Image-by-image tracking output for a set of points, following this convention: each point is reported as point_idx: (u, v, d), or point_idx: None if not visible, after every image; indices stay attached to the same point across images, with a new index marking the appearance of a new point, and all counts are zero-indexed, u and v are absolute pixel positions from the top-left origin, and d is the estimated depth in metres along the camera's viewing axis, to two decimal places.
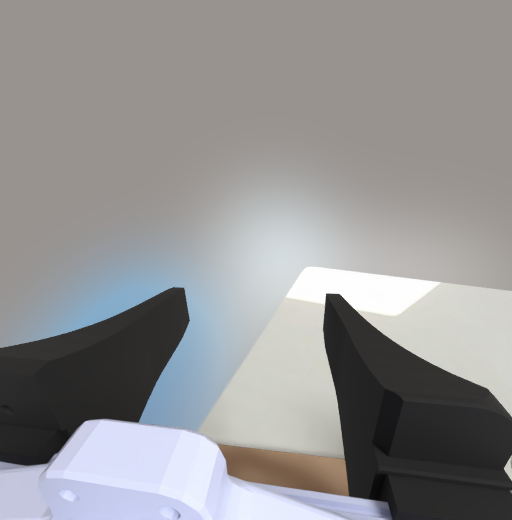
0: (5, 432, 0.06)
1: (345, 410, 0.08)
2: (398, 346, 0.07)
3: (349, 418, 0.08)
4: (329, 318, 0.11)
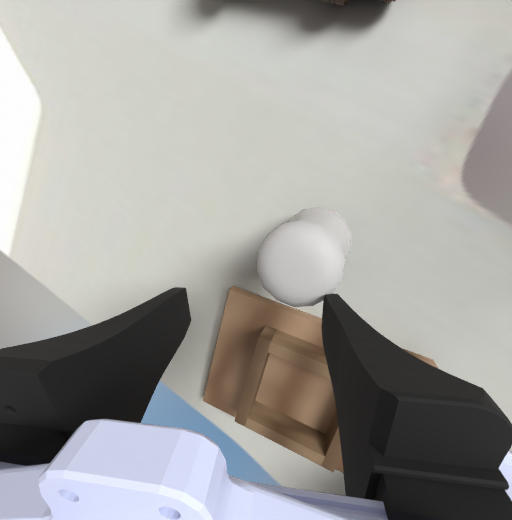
0: (8, 432, 0.06)
1: (342, 410, 0.08)
2: (395, 346, 0.07)
3: (346, 418, 0.08)
4: (327, 318, 0.11)
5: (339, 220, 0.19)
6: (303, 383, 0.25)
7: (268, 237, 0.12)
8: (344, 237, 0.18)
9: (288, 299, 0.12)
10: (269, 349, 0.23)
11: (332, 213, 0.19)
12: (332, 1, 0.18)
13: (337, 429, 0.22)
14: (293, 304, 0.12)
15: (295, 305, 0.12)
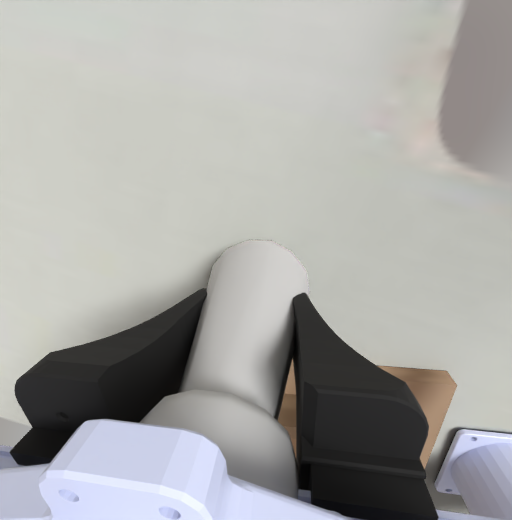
0: (59, 440, 0.06)
1: (297, 405, 0.08)
2: (342, 342, 0.07)
3: (297, 413, 0.08)
4: None
5: (281, 261, 0.12)
6: None
7: None
8: (294, 296, 0.11)
9: None
10: None
11: (267, 253, 0.12)
12: None
13: None
14: None
15: None
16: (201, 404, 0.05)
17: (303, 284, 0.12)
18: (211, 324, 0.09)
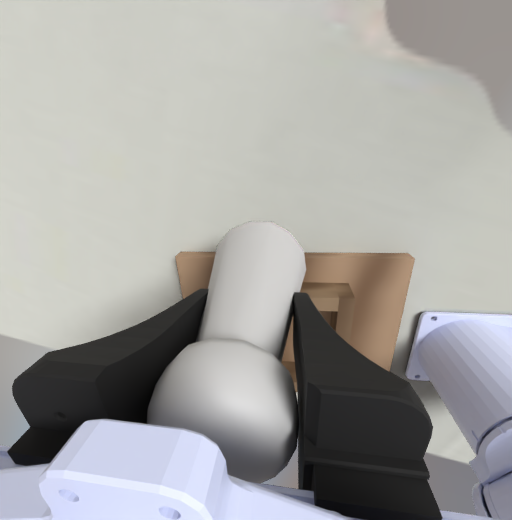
0: (57, 439, 0.06)
1: (299, 405, 0.08)
2: (344, 342, 0.07)
3: (300, 413, 0.08)
4: (294, 316, 0.11)
5: (280, 240, 0.13)
6: None
7: (150, 412, 0.06)
8: (292, 270, 0.12)
9: None
10: None
11: (268, 233, 0.13)
12: None
13: None
14: None
15: None
16: (220, 346, 0.07)
17: (300, 261, 0.14)
18: (221, 292, 0.10)
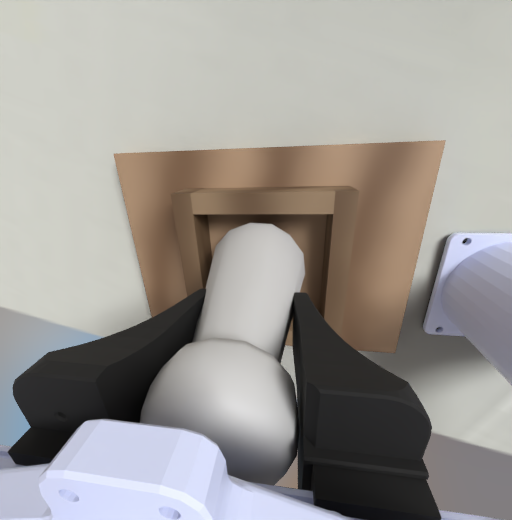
0: (57, 439, 0.06)
1: (298, 405, 0.08)
2: (344, 342, 0.07)
3: (299, 413, 0.08)
4: (293, 316, 0.11)
5: (281, 242, 0.13)
6: None
7: (144, 414, 0.06)
8: (292, 273, 0.12)
9: None
10: (193, 207, 0.14)
11: (269, 235, 0.13)
12: None
13: (327, 287, 0.15)
14: None
15: None
16: (220, 346, 0.07)
17: (300, 264, 0.13)
18: (220, 292, 0.10)
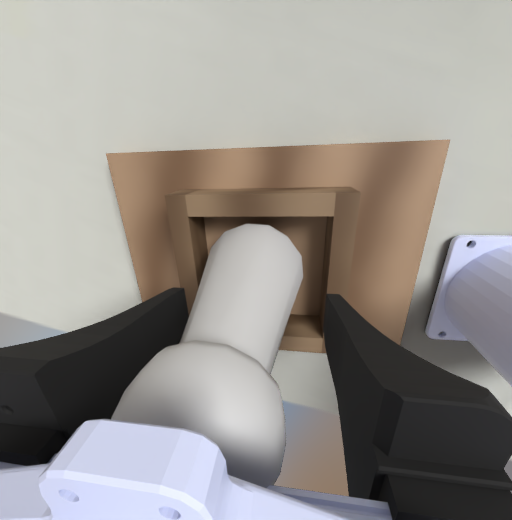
0: (5, 432, 0.06)
1: (345, 410, 0.08)
2: (398, 346, 0.07)
3: (349, 418, 0.08)
4: (329, 318, 0.11)
5: (277, 244, 0.13)
6: None
7: None
8: (288, 276, 0.12)
9: None
10: (188, 209, 0.14)
11: (265, 235, 0.13)
12: None
13: (327, 292, 0.15)
14: None
15: None
16: (200, 350, 0.06)
17: (297, 267, 0.13)
18: (210, 293, 0.09)
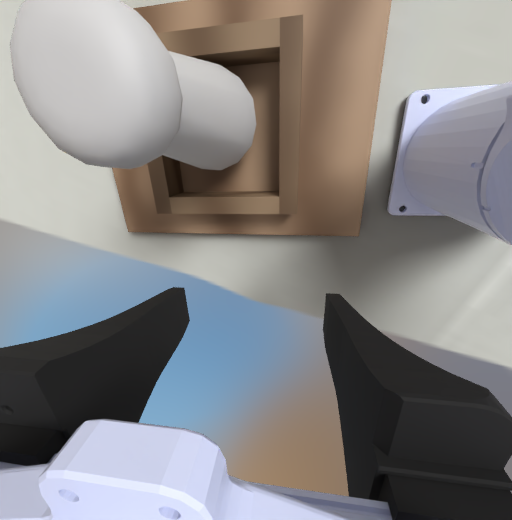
0: (5, 432, 0.06)
1: (345, 410, 0.08)
2: (398, 346, 0.07)
3: (349, 418, 0.08)
4: (329, 318, 0.11)
5: (224, 71, 0.13)
6: None
7: None
8: (229, 87, 0.12)
9: (90, 150, 0.07)
10: None
11: (212, 63, 0.13)
12: None
13: (280, 139, 0.15)
14: (104, 158, 0.07)
15: (112, 161, 0.07)
16: None
17: (244, 96, 0.14)
18: None
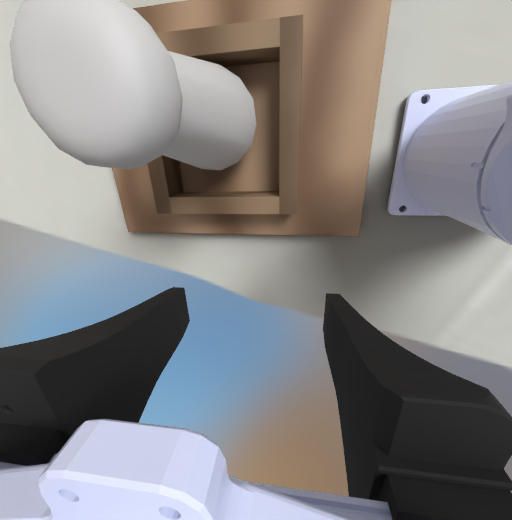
0: (5, 432, 0.06)
1: (345, 410, 0.08)
2: (398, 346, 0.07)
3: (349, 418, 0.08)
4: (329, 318, 0.11)
5: (224, 71, 0.13)
6: None
7: None
8: (229, 87, 0.12)
9: (90, 150, 0.07)
10: None
11: (212, 63, 0.13)
12: None
13: (280, 139, 0.15)
14: (104, 159, 0.07)
15: (112, 161, 0.07)
16: None
17: (244, 96, 0.14)
18: None
